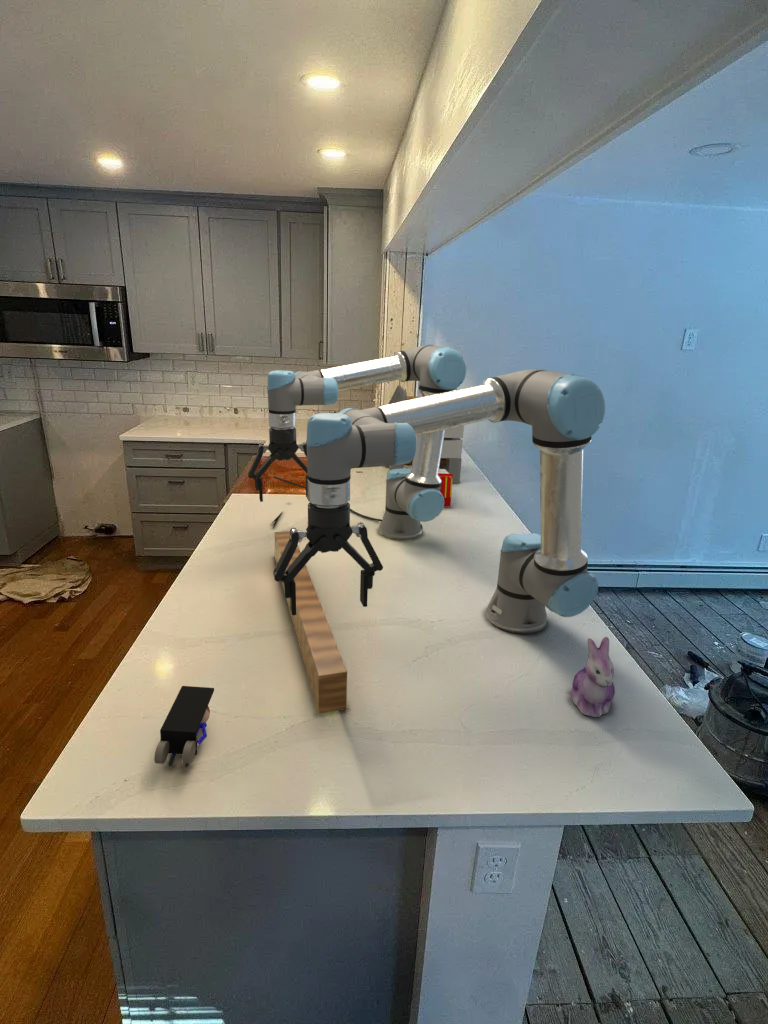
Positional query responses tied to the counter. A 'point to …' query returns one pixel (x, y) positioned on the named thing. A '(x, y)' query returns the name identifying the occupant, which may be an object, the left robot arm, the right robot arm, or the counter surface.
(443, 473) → the red striped box
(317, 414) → the right robot arm
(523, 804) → the counter surface
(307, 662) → the post
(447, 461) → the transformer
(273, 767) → the counter surface
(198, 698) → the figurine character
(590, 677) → the figurine
